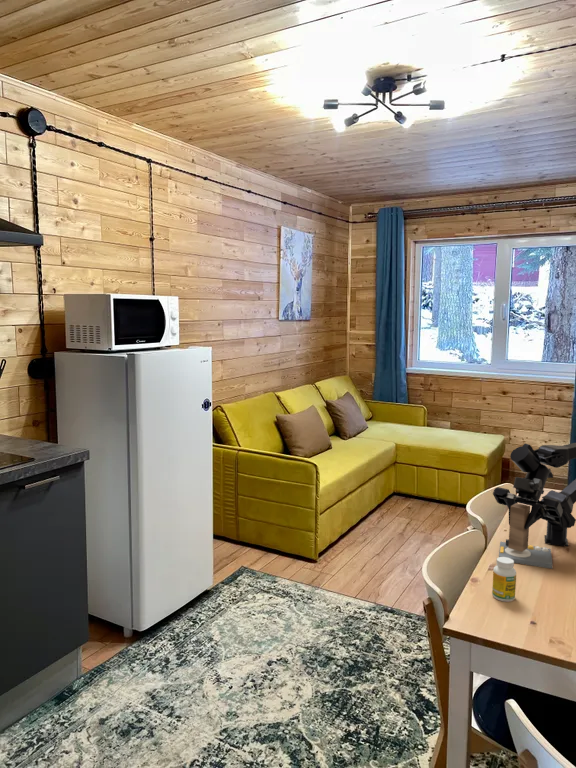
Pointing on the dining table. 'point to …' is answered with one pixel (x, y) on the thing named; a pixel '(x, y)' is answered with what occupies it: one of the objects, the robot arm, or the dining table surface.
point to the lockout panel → (527, 555)
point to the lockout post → (518, 527)
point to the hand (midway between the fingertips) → (517, 526)
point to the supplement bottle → (504, 580)
